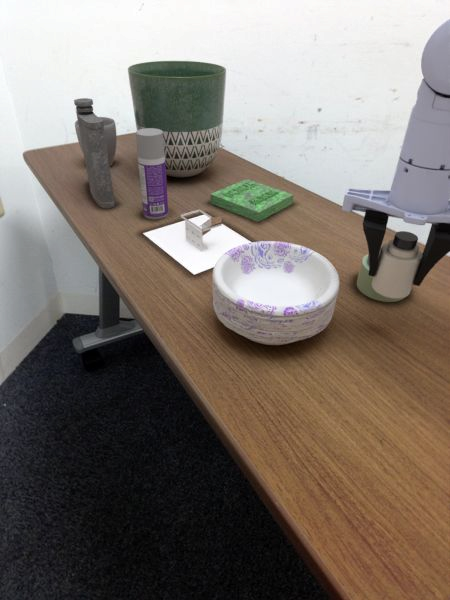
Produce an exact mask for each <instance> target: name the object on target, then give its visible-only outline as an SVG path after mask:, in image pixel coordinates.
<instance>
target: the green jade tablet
mask: <svg viewBox="0 0 450 600" xmlns="http://www.w3.org/2000/svg"><path fill="white" fill-rule="evenodd" d="M209 195H210V200H209V201H210V205H213V206H216V207H219V208H221V209H224V210H226V211H229V212H231V213H234V214H236V215H239V216H241V217H244V218H246V219H249V220H251V221H254V222H257V223H260V222H261V221H263V220H265V219H267V218H269V217H270V216H272V215H274V214H277V213H278V212H280V211H282V210H284V209H285V208H288V207H289V206H291V205H293V202H294V194H293V193H290V192H288V191H284V190H282V189H278V188H276V187H275V188H274V187H272V186H269V185H266V184H263V183H260V182H257V181H254V180H251V179H248V178H246V179H243V180H241V181H238V182H236V183H234V184H231V185H229V186H227V187H223V188H222V189H219V190H216V191H215V192H212V193H210V194H209Z"/></svg>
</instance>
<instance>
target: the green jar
mask: <svg viewBox="0 0 450 600" xmlns="http://www.w3.org/2000/svg"><path fill="white" fill-rule="evenodd" d="M380 251H381V249H380ZM379 255H380V252H379ZM378 259H379V258H378ZM368 274H369V252H368V253H367V254H365V255H364V256H363V257H362V259H361V263H360V266H359V270H358V274H357V279H356V287H357V289H358V291H360V292H361V294H363V295H364V296H366V297H368V298H369V299H372V300H375V301H378V302H382V303H396V302H400V301H403V300H404V299H406V297H404V298H389V297H385V296H383V295H381V294H379V293H377V292H376V291H375V290H374V289H373V287H372V280H373V276H369V275H368Z"/></svg>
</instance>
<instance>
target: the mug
mask: <svg viewBox="0 0 450 600" xmlns="http://www.w3.org/2000/svg"><path fill="white" fill-rule="evenodd" d="M98 117H99V118H101V119H102V120H103V125H104V132H105V139H106V146H107V153H108V160H109V166H110V167H112V166H113V164H114V159H115V156H116V151H117V143H118V141H117V136H118V135H117V125H116V121H115V120H114V119H113V118H110V117H107V116H98ZM74 129H75V134H76V137H77V141H78V144H79V147H80V149H81V152H82V154H83V155H84V152H83V147H82V141H81V136H80V130H79V125H78V119H77V120H75V122H74Z"/></svg>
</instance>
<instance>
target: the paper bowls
mask: <svg viewBox="0 0 450 600" xmlns="http://www.w3.org/2000/svg"><path fill="white" fill-rule="evenodd" d="M251 242H252V241H251ZM212 269H213V270H212V288H211V289H212V290H211V291H212V306H213V310H214V312H215V315H216V317H217V319H218V320H219V321H220V322H221V323H222V324H223V325H224V326H225V327H226V328H227V329H229V330H232V331H233V332H235V333H236V334H238V335H240V336H242V337H244V338H246V339H248V340H250V341H253V342H255V343H258V344H262V345H268V346H269V345H270V346H281V345H283V346H284V345H288V344H293V343H294V342H298V341H304V340H306V339H309V338H312V337H314V336H316V335H317V334H320V332H321V333H322V331H324V330H325V329H326V328H327V327H328V325H330V323H331V321H332V318H333V316H334V313H335V308H336V306H337V305H336V303H337V299H338V295H339V290H340V285H341V284H340V283H341V280H340V276H339V272H338V271H337V269H336V268H335V266H334V265H333V264H332V263H331V261H330V260H329V259H327V258H326V257H325V256H323V255H322V254H320V253H318V252H317V251H315V250H313V249H311V248H308V247H306V246H303V245H300V244H296V243H293V242H286V241H277V240H275V241H274V240H260V241H253V242H252V243H247V244H243V245H240V246H237V247H235V248H232V249H230V250H229V251H227V252H226V253H225V254H223V255H222V256H221V257H220V258H219V260H218V261H217V262H216V264H215V266H214V267H213V268H212Z"/></svg>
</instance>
